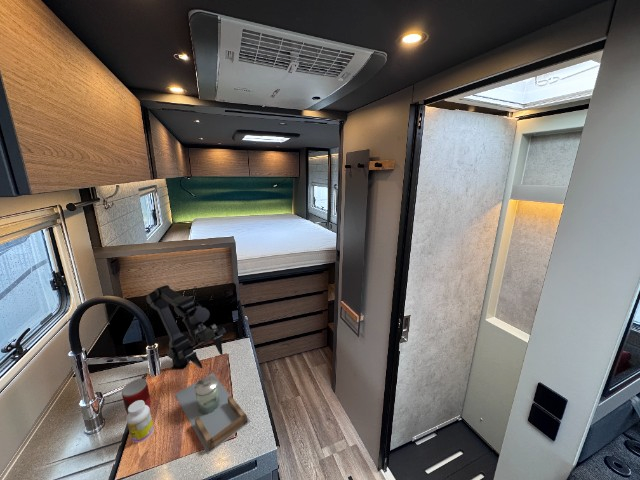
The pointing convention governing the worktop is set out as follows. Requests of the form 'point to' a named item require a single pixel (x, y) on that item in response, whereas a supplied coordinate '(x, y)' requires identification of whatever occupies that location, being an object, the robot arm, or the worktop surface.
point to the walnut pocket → (226, 431)
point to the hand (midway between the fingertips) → (212, 361)
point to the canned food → (136, 393)
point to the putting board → (212, 420)
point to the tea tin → (207, 395)
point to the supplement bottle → (139, 421)
